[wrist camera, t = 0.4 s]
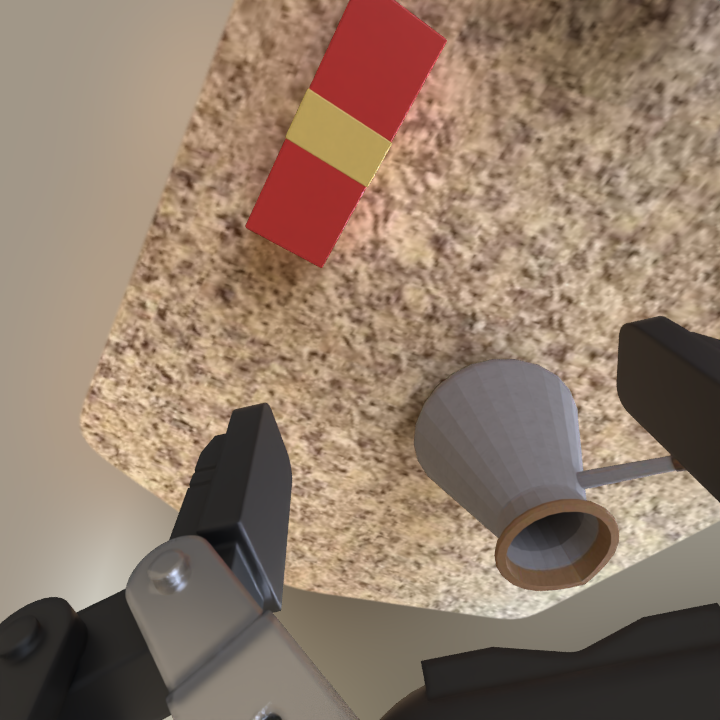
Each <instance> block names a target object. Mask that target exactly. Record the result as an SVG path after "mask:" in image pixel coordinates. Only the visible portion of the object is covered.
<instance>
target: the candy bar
mask: <svg viewBox="0 0 720 720" xmlns="http://www.w3.org/2000/svg"><path fill="white" fill-rule="evenodd" d="M446 42H447V40H446V39H445V38H444V37H443V36H442V35H440V34H439V33H438V32H436V31H435V30H434V29H432V28H431V27H430V26H428V25H427V24H426V23H424V22H423V21H422V20H420V19H419V18H418V17H416V16H415V15H414V14H412V13H411V12H410V11H408V10H407V9H406V8H404V7H403V6H402V5H400V4H399V3H398V2H396V1H395V0H349V3H348V5H347V7H346V9H345V11H344V13H343V16H342V18H341V20H340V22H339V24H338V26H337V29H336V31H335V33H334V35H333V37H332V39H331V42H330V44H329V46H328V48H327V50H326V52H325V55H324V57H323V59H322V61H321V63H320V65H319V68H318V70H317V72H316V74H315V76H314V78H313V81H312V83H311V85H310V87H309V89H307V91H306V93H305V95H304V97H303V99H302V101H301V104H300V106H299V108H298V110H297V112H296V114H295V117H294V119H293V121H292V123H291V125H290V127H289V130H288V132H287V134H286V136H285V138H286V139H285V141H284V143H283V145H282V148H281V150H280V152H279V154H278V156H277V158H276V161H275V163H274V165H273V167H272V169H271V171H270V174H269V176H268V178H267V180H266V182H265V184H264V187H263V189H262V191H261V193H260V195H259V197H258V200H257V202H256V204H255V206H254V208H253V210H252V213H251V215H250V217H249V219H248V221H247V223H246V225H245V227H246V228H247V229H249V230H251V231H253V232H254V233H256V234H258V235H260V236H262V237H264V238H266V239H268V240H269V241H271V242H273V243H275V244H277V245H279V246H281V247H283V248H284V249H286V250H288V251H290V252H292V253H294V254H296V255H298V256H299V257H301V258H303V259H305V260H307V261H309V262H311V263H312V264H314V265H316V266H318V267H320V268H322V267H323V266H324V264H325V262H326V260H327V258H328V257H329V255H330V253H331V251H332V249H333V247H334V246H335V244H336V242H337V240H338V238H339V237H340V235H341V233H342V231H343V229H344V227H345V226H346V224H347V222H348V220H349V218H350V217H351V215H352V213H353V211H354V209H355V208H356V206H357V204H358V202H359V200H360V198H361V197H362V195H363V193H364V191H365V189H366V188H367V187H368V186H369V185H370V183H371V181H372V179H373V177H374V175H375V174H376V172H377V170H378V168H379V166H380V165H381V163H382V161H383V159H384V157H385V156H386V154H387V152H388V150H389V148H390V146H391V145H392V140H393V139H394V137H395V135H396V133H397V131H398V129H399V128H400V126H401V124H402V122H403V120H404V119H405V117H406V115H407V113H408V111H409V109H410V108H411V106H412V104H413V102H414V100H415V99H416V97H417V95H418V93H419V91H420V90H421V88H422V86H423V84H424V82H425V80H426V79H427V77H428V75H429V73H430V71H431V70H432V68H433V66H434V64H435V62H436V60H437V59H438V57H439V55H440V53H441V51H442V50H443V48H444V46H445V44H446Z"/></svg>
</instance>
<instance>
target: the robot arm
mask: <svg viewBox="0 0 720 720" xmlns="http://www.w3.org/2000/svg"><path fill="white" fill-rule="evenodd" d="M617 392H618V396H619V398H620V401H621V403H622V405H623V407H624V408H625V409H626V411H627V412H628V413H629V414H630V415H631V416H632V417H633V418H634V419H635V420H636V421H637V422H638V423H639V424H640V425H641V426H643V427H644V428H645V429H646V430H647V431H648V432H649V433H650V434H651V435H652V436H653V437H654V438H655V439H656V440H657V441H658V442H659V443H660V444H661V445H662V446H663V447H664V448H665V449H666V450H667V451H668V452H669V453H670V454H671V455H672V456H673V457H674V458H675V459H676V460H677V461H678V462H679V463H680V464H681V465H682V466H683V467H684V468H685V469H686V470H687V471H688V472H689V473H690V474H691V475H692V476H693V477H694V478H695V479H696V480H697V481H698V482H699V483H700V484H701V485H702V486H703V487H705V488H706V489H707V490H708V491H709V492H710V493H711V494H712V495H713V496H714V497H715V498H716V499H717V500H718V501H719V502H720V340H718V339H715V338H712V337H708V336H705V335H701V334H698V333H695V332H690V331H688V330H686V329H685V328H683V327H681V326H680V325H678V324H676V323H675V322H673V321H671V320H670V319H668V318H666V317H664V316H658V317H653V318H649V319H644V320H640V321H635V322H631V323H626V324H624V325H623V326H622V327H621V329H620V333H619V346H618V365H617ZM189 485H190V488H188V490H187V492H186V495H185V498H184V501H183V503H182V506H181V509H180V512H179V515H178V517H177V520H176V523H175V526H174V528H173V531H172V534H171V537H170V539H169V541H167V542H165V543H163V544H161V545H160V546H158V547H157V548H155V549H154V550H152V551H151V552H150V553H149V554H148V555H147V556H145V557H144V558H143V559H142V561H140V563H139V564H138V565H137V566H136V568H135V569H134V570H133V572H132V574H131V576H130V577H129V580H128V583H127V586H126V589H124V590H122V591H120V592H118V593H116V594H114V595H112V596H110V597H108V598H106V599H104V600H101V601H99V602H97V603H95V604H93V605H91V606H89V607H87V608H85V609H83V610H81V611H79V612H75V611H74V609H73V608H72V607H71V606H70V605H69V603H68V602H67V601H66V600H64V599H62V598H58V597H49V598H44V599H41V600H37V601H35V602H33V603H30V604H28V605H26V606H24V607H23V608H21V609H19V610H18V611H16V612H15V613H13V614H12V615H10V616H9V617H8V618H7V619H5V620H4V621H3V622H2V623H1V624H0V720H163V719H164V718H166V717H168V716H170V715H172V717H173V719H174V720H359V718H357V716H356V715H355V713H354V712H353V711H352V710H351V709H350V707H349V706H348V705H347V704H346V702H345V701H344V700H343V699H342V697H341V696H340V695H339V694H338V693H337V691H336V690H335V689H334V688H333V686H332V685H331V684H330V683H329V682H328V680H327V679H326V678H325V676H324V675H323V674H322V673H321V672H320V670H319V669H318V668H317V667H316V665H315V664H314V663H313V662H312V660H311V659H310V658H309V657H308V656H307V654H306V653H305V652H304V651H303V649H302V648H301V647H300V646H299V644H298V643H297V642H296V641H295V640H294V638H293V637H292V636H291V635H290V633H289V632H288V631H287V630H286V628H285V627H284V626H283V625H282V624H281V622H280V621H279V620H278V619H277V617H276V616H275V615H274V614H273V612H278V611H281V605H282V593H283V581H284V570H285V558H286V547H287V535H288V523H289V512H290V500H291V488H292V471H291V464H290V460H289V456H288V453H287V450H286V448H285V445H284V442H283V440H282V437H281V434H280V432H279V429H278V426H277V423H276V421H275V418H274V415H273V413H272V410H271V408H270V406H269V405H268V403H261V404H257V405H252V406H248V407H243V408H239V409H235V410H234V411H233V412H232V415H231V419H230V422H229V425H228V428H227V432H226V434H221V435H217V436H215V437H214V438H213V439H212V440H211V441H210V443H209V444H208V445H207V446H206V447H205V448H204V450H203V451H202V452H201V454H200V456H199V459H198V462H197V465H196V467H195V473H193V476H192V479H191V481H190V484H189ZM421 664H422V669H423V675H424V681H425V685H424V686H422V687H420V688H419V689H417V690H415V691H413V692H411V693H410V694H409V695H407V696H406V697H404V698H403V699H402V700H400V701H399V702H398V703H396V704H395V705H394V706H393V707H392V708H391V709H390V710H389V711H388V712H387V713H386V714H385V715H384V716H383V717H382V718H381V719H380V720H720V606H719V605H718V603H714V604H708V605H703V606H699V607H693V608H688V609H683V610H678V611H673V612H668V613H663V614H657V615H652V616H648V617H643V618H641V619H639V620H637V621H635V622H633V623H631V624H630V625H628V626H626V627H624V628H622V629H620V630H619V631H617V632H615V633H613V634H611V635H609V636H607V637H606V638H604V639H602V640H600V641H598V642H596V643H594V644H592V645H591V646H589V647H587V648H585V649H583V650H580V651H577V652H556V651H543V650H527V649H514V648H500V647H490V648H485V649H480V650H474V651H469V652H464V653H459V654H454V655H449V656H444V657H440V658H434V659H429V660H424V661H421Z"/></svg>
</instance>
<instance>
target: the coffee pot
mask: <svg viewBox="0 0 720 720" xmlns="http://www.w3.org/2000/svg"><path fill="white" fill-rule="evenodd" d="M414 446H415V451H416V455H417V459H418V462H419V463H420V465H421V466H422V468H423V469H424V471H425V473H426V474H427V476H428V477H429V478H430V479H431V480H433V481H434V482H435V483H436V484H437V485H438V486H439V487H441V488H442V489H443V490H444V491H445V492H446V493H447V494H449V495H450V496H451V497H452V498H453V499H454V500H455V501H457V502H458V503H459V504H460V505H461V506H462V507H463V508H465V509H466V510H467V511H468V512H469V513H470V514H471V515H473V516H474V517H475V518H476V519H477V520H478V521H479V522H481V523H482V524H483V525H484V526H485V527H486V528H487V529H489V530H490V531H491V532H492V533H493V534H494V535H495V536H497V537H498V541H497V544H496V549H495V561H496V567H497V568H498V570H499V571H500V573H501V575H502V576H503V577H504V578H505V579H507V580H508V581H509V582H510V583H512V584H513V585H516V586H518V587H521V588H523V589H528V590H535V591H548V590H558V589H565V588H571V587H575V586H580V585H584V584H586V583H587V582H588V581H589V580H591V579H592V578H593V577H594V576H595V575H596V574H597V573H598V572H599V571H600V570H601V569H602V568H603V567H604V566H605V565H606V564H607V563H608V561H609V560H610V559H611V557H612V556H613V555H614V553H615V551H616V548H617V546H618V543H619V528H618V525H617V523H616V520H615V518H614V517H613V516H612V515H611V514H610V513H609V512H608V511H607V510H606V509H605V508H604V507H602V506H600V505H598V504H595V503H593V502H591V501H587V500H586V493H585V489H587V488H592V487H597V486H602V485H607V484H612V483H617V482H621V481H626V480H631V479H636V478H641V477H646V476H651V475H656V474H660V473H665V472H670V471H675V470H676V471H677V472H678V471H685V470H686V469H685V468H684V467H683V466H682V465H681V464H680V463H679V462H678V461H677V460H676V459H675V458H674V457H673V456H672V455H671V456H666V457H660V458H655V459H649V460H643V461H637V462H632V463H626V464H620V465H614V466H609V467H603V468H597V469H591V470H586V471H583V463H582V453H581V443H580V434H579V424H578V414H577V407H576V405H575V402H574V399H573V397H572V394H571V392H570V390H569V388H568V387H567V386H566V385H565V384H564V383H563V382H562V380H561V379H560V378H559V377H558V376H557V375H555V374H553V373H552V372H550V371H548V370H546V369H545V368H543V367H541V366H539V365H537V364H532V363H528V362H524V361H520V360H515V359H491V360H487V361H483V362H479V363H475V364H471V365H469V366H467V367H465V368H463V369H461V370H459V371H457V372H455V373H453V374H452V375H450V376H449V377H448V378H447V379H445V380H444V381H443V382H442V383H440V384H439V385H438V386H437V387H436V388H435V390H434V391H433V392H432V393H431V395H430V396H429V397H428V399H427V400H426V401H425V403H424V405H423V408H422V410H421V412H420V415H419V417H418V420H417V422H416V426H415V437H414Z"/></svg>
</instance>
